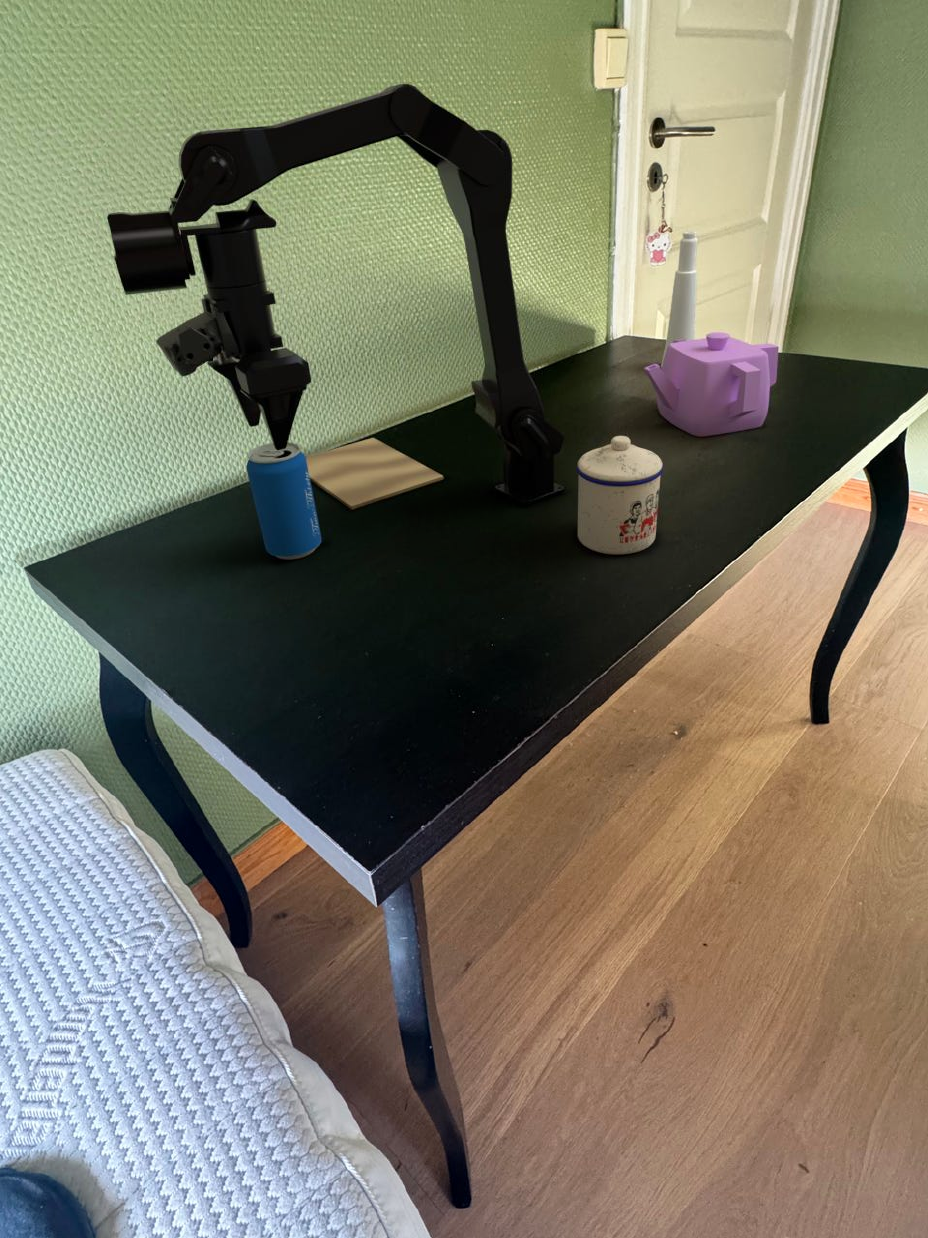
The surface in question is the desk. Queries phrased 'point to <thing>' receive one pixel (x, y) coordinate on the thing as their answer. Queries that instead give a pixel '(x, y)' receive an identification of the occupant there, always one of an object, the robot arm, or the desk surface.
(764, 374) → the teakettle
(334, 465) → the board
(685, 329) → the cosmetic bottle
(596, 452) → the teacup with lid
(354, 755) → the desk surface
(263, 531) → the beverage can
